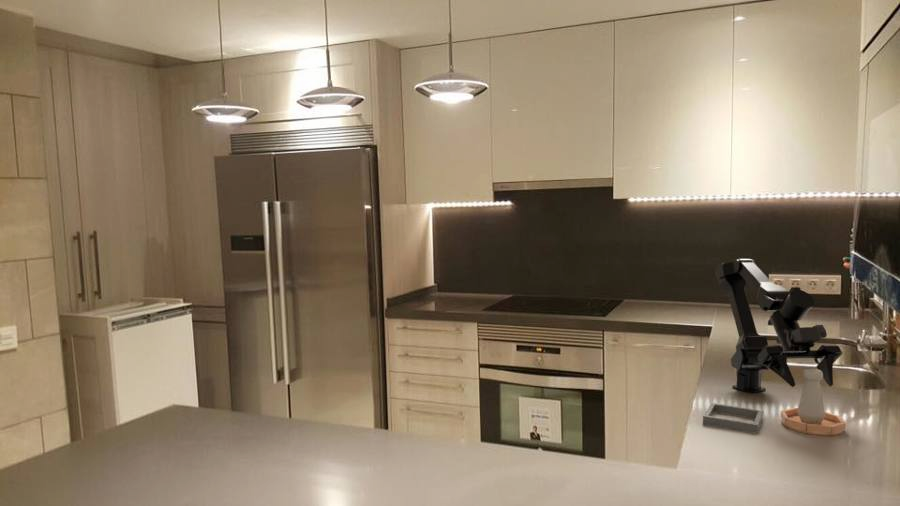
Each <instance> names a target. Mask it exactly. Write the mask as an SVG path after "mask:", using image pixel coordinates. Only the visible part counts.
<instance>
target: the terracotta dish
mask: <svg viewBox="0 0 900 506" xmlns="http://www.w3.org/2000/svg"><path fill="white" fill-rule="evenodd" d="M779 416H780V418H781V420H780V421H781V424H782V425H783V426H784V427H786V428H788V429H791V430H793V431H796V432H799V433H802V434H803V433H804V434H808V435H814V436H826V437H827V436H830V437H831V436H838V435H841V434H843V433H844V430H846V425H847V423H846V421H844V419H842V417H841V416H840V415H837V414H834V413H830V412H827V411H825V417H824V419H823V421H822V422H821V424H819V425H817V424H807V423H803V422H801V420H800V417H799V415H798V407H791V408H788V409H787V408H786V409H782V410H780V415H779Z"/></svg>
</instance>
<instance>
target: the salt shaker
mask: <svg viewBox="0 0 900 506" xmlns="http://www.w3.org/2000/svg"><path fill="white" fill-rule="evenodd" d="M802 378H803V379H804V382H803V383H804V384H803V387H802V390H801V391H802V392H801V395H800V400H799V404H798V407H797V408H798V415H799V417H800V420H801V422H803V423H807V424H817V425H819V424H821V422H822V421H823V419H824V417H825V412H826V410H825V405H824V404H825V403H824V400H823V399H824V397H823V392H822V387H821V386H822V385H821V381H823V379H824V378H823V372H822V371H821V370H818V368H811V367H810V368H804V369H803V371H802Z"/></svg>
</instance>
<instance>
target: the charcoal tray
mask: <svg viewBox="0 0 900 506" xmlns="http://www.w3.org/2000/svg"><path fill="white" fill-rule="evenodd" d="M715 413H720V414H725V415H730V416H737V417H744V418H749V419H750V418H751V419H754V421H753V422H749V421H741V420H737V419H732V418H731V419H730V418H725V417H721V416H720V417H719V416H714V414H715ZM763 419H764V410H760V409H755V408H749V407H748V408H747V407H741V406H734V405H729V404H727V405H726V404H722V403H716V402H711V403H710V405H709V406H708V408H707V409H706V410H705V413H704V414H703V416H702V425H707V426H712V427H717V428H718V427H719V428H724V429H729V430H736V431H741V432H747V433H751V434H752V433H753V434H758V433H759V430H760V428H761V425H762V422H763Z"/></svg>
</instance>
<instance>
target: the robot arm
mask: <svg viewBox="0 0 900 506" xmlns="http://www.w3.org/2000/svg"><path fill="white" fill-rule="evenodd" d="M714 275H715V277H716V279H717V282H718V285H719V287H720V288H721V289H723V290H724V292H726V294H727V296H728V299H729V304H730V308H731V312H732V314H733V319H734V322H735V326H736V329H737V334H738V339H737V342H736V345H735V350H736V351H735V352H734V353H733V355H732V357H731V359H730V363H731V364H730V365H731V367H733V368H734V369H736V370H737V373H736V384H734V385H732V387H731V388H732V389H737V390H738V391H743V392H747V393H749V394H750V393H751V394H754V393H758V392H763V391H766V388H765V387H762V370H764V371H768V370H769V369H770V370H771V371H773V372H774V373H775V374H776V375H777V376H779V377H780V378H781V379H782V380H783V381H785V382H786V384H788V385H789V386H790V387H792V388H794V387H795V386H796V382H795V379H794V376H793V374H792V372H791V370H790V367H789V365H788V360H789V359H794V360H798V359H800V360H802V359H805V360H806V359H811V360H812V359H813V360H814V363H815V364H817V365H816V369H818V370H821V371H822V372H823V379H824V381H825V383H826V384H827V385H828V386H829V387H832V386H834V377H833V375H834V373H833V372H834V370H833V368H834V367H833V366H834V363H835V362H836V361H837V360H838V359H839V358H840V357H841V356H842V355H843V351H842V349H841V347H840V346H839V345H837V344H821V345H820V346H819V347H818V349H816V350H815V349H813V350H811V348H813V347H815V342H818V341H819V342H820V341H822V339H825V338H827V336H828V335H827V334H828V333H827V331H826V328H825V326H824V325H823V324H815V325H813V326H810V327H809V326H808V327H807V326H805V327H804V326H803V327H801V326H800V323H799V321H801V320H803V318H805V316H806V315H807V313H808V312H809V311H810V310H811V309H812V308H813V306H814V304H815V300H814V297H813V296H811V295H810V294H809V293H808V292H806V290H805V291H804V290H802V289H801V288H800V286H791V287H790V289H789V290H788V289H787V288H785V287H783V286H782V285H778V284H775V283H774V282H772V281H771V279H769V278H768V276H767V275H766V274H765V273H764V272H763V271H762V270H761V269H760V268H759V266H757V264H756V262H755V260H754V259H751V258H737V259H734V260H732V261H730V262H726V263H720V264H719V265H718V266H717V267H716V268H715V270H714ZM747 284H748V286H749V287H750V288H751V289H752V290H753V292H754V293H755V294H756V300H755V302H757V304H758V306H759V308H760V309H761V310H762V311H764V312H772V314H771V315H770V316H769V319H768V320H767V325H768V326H772V327H773V329H774V331H775V333H776V337H777V338H776V340H775V341H776V343H777V345H776V344H775V345H773V344H771V345H769V344H768V343H769V342H768V338H767V337H766V336H765V335H760V334H759V333H758V332H757V327H756V325H755V320H754V316H753V313H752V309H751V306H750V303H749V299H748V297H747V292H746V290H745V289H746V285H747Z"/></svg>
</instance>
